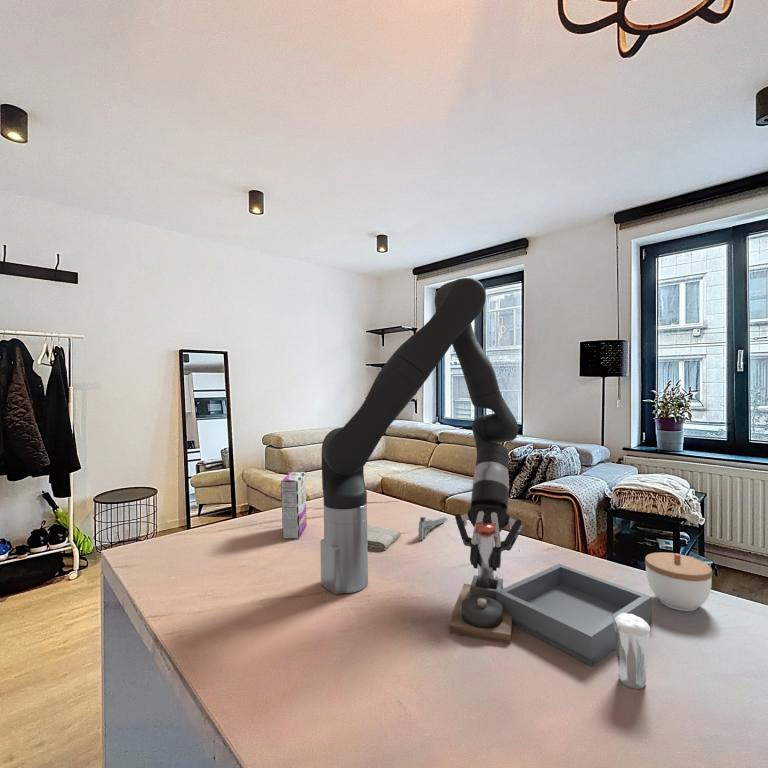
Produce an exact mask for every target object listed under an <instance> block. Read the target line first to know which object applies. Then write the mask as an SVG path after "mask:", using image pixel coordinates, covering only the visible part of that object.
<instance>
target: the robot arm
mask: <svg viewBox="0 0 768 768" xmlns="http://www.w3.org/2000/svg"><path fill="white" fill-rule="evenodd" d="M486 298H487V295H486V289H485V286H484V285H483V284H482V282H480V281H479V280H478V279H475V278H473V277H472V278H471V277H462V278H458V279H455V280H453V281H449V282H446V283H444V284H443V285H441V286H440V287H439V288H438V289H437V291H436V293H435V296H434V307H435V310H436V311H435V312H434V314H433V315H432V317H430V319H429V320H428V321H427V322H426V323H425V324H424V325H423V326H422V327H421V328H420V329H418V331H416V332H415V333H414V334H412V335H411V336H410V337H409V338H408V339H407V340H405V341H404V342H403V343H402V344H401V345H399V347H398V348H397V349H396V350H395V351H393V352H394V353H392V355H391V356H390V357H389V358H388V360H387V361H386V363H384V365H383V366H382V368H381V369H380V371H379V372H378V374H377V376H376V377H375V379H374V381H373V383H372V385H371V387H370V389H369V391H368V393H367V395H366V397H365V399H364V401H363V403H362V405H361V406H360V407H359V409H358V410H357V411H356V412H355V413H354V415H353V416H352V417H351V418H350V419H349V421H348V422H346V424H345V425H344V426H342V427H337V428H334V429H332V430H330V431H329V432H328V433H327V434H326V435H325V437H324V438H323V441H322V445H321V483H322V487H321V488H322V494H323V524H324V525H323V533H324V534H323V538H324V539H320V543H319V544H320V585H321V586H323V587H324V588H325V589H327V590H328V591H329V592H331V594H333V595H338V594H351V593H356V592H359V591H362V590H364V589H365V588H366V587H367V586H368V584H369V564H368V563H369V556H368V555H369V554H368V552H369V551H368V544H367V525H368V493H367V487H366V481H365V474H364V472H365V471H364V469H365V468H364V466H365V465H366V464H367V462H368V461H369V460H370V458H371V456H372V454H373V453H374V450H376V447H377V445H378V444H379V442H380V441H381V440H382V438H383V436H384V434H385V433H386V431H387V430H388V428H389V427H390V425H392V423H393V422H394V421H395V420H396V419H397V418H398V416H399V415H400V414H401V413H402V411H403V410H404V409H405V408H406V406H408V404H409V403H410V401H412V399H413V398H414V397H415V395H416V394H418V392H419V390H420V389H421V388H422V386H423V385H424V383H425V382H426V381H427V380H428V378H429V377H430V376H431V374H432V372H433V371H434V370H435V369H436V367H437V366H438V365H439V363H440V362H441V360H442V359H443V358H444V356H445V355H446V353H447V352H448V350H449V349H450V347H451V346H452V348H453V350H454V353H455V354H456V357H457V359H458V362H459V364H460V365H459V366H460V368H461V371H462V374H463V377H464V381H465V383H466V384H465V385H466V387H467V391H468V394H469V398H470V400H471V405H472V406H473V407H475V408H477V409H485V410H486V409H487V410H490V411H492V412H493V413H490V414H489V413H488V414H482V415H478V416H477V417H476V418H474V420H473V422H472V426H471V431H472V434H473V438H474V443H475V447H476V449H475V450H476V459H475V460H476V461H475V469H474V473H473V479H472V489H471V498H470V499H471V501H470V507H469V509H468V510H467V513H465V514H460V513H455V515H454V519H455V521H456V525H457V527H458V532H459V534H460V537H461V539H462V543H463V545H464V546H465V547H470V552H469V553H470V554H469V561H470V564H471V566H473V569H477V570H478V533H477V532H476V528H475V524H476V523H478V522H490V523H493V524H495V525H496V533H494V547H493V559H492V569H493V571H494V572H497V571H498V569H500V568H501V565H502V564H501V563H502V562H501V561H502V552H504V551H511V550H512V548H513V546H514V544H515V543H516V540H517V539H518V538H519V535H520V533H521V532H522V529H523V522H522V520H521V519H519V518H518V519H514V518H512V517H511V515H510V513H509V492H510V477H509V462H510V460H509V457H510V455H509V454H510V453H509V451H508V449H507V447H506V446H504V445H502V444H501V443H508V442H512V441H514V440H515V439H516V438H517V436H518V433H519V424H518V421H517V419H516V417H515V415H514V414H513V412H512V411H511V410H510V408H509V406H508V405H507V403H506V400H504V397H503V395H502V393H501V390H500V386H499V382H498V380H497V375H496V372H495V370H494V367H493V365H492V363H491V361H490V359H489V357H488V356H487V354H486V353H485V351H484V349H483V348H482V346H481V345H480V343H479V341H478V339H477V337H476V334H475V332H474V329H473V326H472V323H473V322H474V320H476V318H478V317H479V315H480V314H481V312H482V311H483V309H484V307H485V305H486ZM468 521H469V522H470V523H471V525H472V527H473V533H472V537H470V536H469V535H468V532H467V530H466V526H467V525H468ZM508 524H509V529H510V530H509V532H508V534H507V535H506V536H505V537H506V538H505V539H504V540H502V541H501V534H500V533H501V532H502V531H503V530H504V529H505V527H507V525H508Z"/></svg>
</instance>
